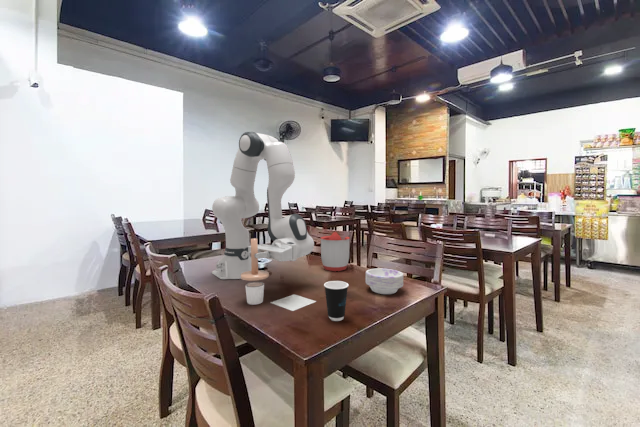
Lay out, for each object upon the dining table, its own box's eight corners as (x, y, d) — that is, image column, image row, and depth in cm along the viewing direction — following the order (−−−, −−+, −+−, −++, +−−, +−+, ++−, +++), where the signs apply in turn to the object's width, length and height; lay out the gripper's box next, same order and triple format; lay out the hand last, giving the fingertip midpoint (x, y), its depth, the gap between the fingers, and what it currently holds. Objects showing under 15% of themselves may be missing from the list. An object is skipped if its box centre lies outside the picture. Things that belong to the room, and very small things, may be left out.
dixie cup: (325, 312, 100) (325, 280, 100) (349, 313, 99) (349, 281, 98) (322, 322, 92) (322, 287, 92) (347, 323, 91) (348, 288, 91)
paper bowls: (403, 287, 128) (403, 268, 127) (402, 298, 113) (403, 278, 113) (367, 284, 132) (368, 266, 131) (362, 295, 117) (362, 275, 117)
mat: (270, 303, 109) (270, 302, 109) (294, 295, 118) (294, 294, 118) (292, 312, 101) (292, 311, 101) (316, 302, 110) (316, 301, 110)
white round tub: (260, 306, 106) (259, 287, 105) (242, 305, 107) (241, 286, 107) (267, 300, 112) (267, 281, 112) (250, 298, 114) (250, 280, 113)
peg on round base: (235, 277, 109) (234, 239, 108) (257, 271, 116) (257, 236, 115) (251, 282, 102) (250, 241, 101) (274, 276, 109) (273, 238, 109)
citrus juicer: (356, 267, 162) (357, 230, 161) (339, 274, 148) (339, 234, 147) (333, 263, 171) (333, 229, 170) (314, 269, 157) (314, 232, 156)
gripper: (264, 239, 125) (236, 243, 115) (299, 244, 111) (269, 249, 101) (265, 254, 125) (236, 260, 115) (299, 261, 112) (270, 268, 101)
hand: (252, 255), depth 108 cm, fingers closed on peg on round base, 2 cm apart
